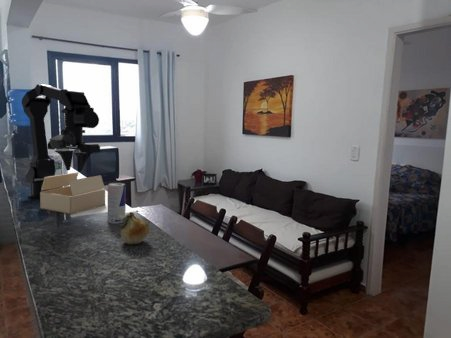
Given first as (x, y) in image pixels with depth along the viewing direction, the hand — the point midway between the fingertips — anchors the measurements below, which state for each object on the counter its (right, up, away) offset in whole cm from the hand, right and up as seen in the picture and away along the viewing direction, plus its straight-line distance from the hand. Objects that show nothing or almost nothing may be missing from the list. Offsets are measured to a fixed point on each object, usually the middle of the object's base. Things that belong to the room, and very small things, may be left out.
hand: (73, 171), depth 118 cm
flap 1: (-6, -4, +3) cm, 7 cm away
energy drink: (+19, -16, -13) cm, 28 cm away
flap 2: (+5, -5, -1) cm, 7 cm away
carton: (-1, -13, +2) cm, 13 cm away
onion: (+30, -19, -30) cm, 47 cm away
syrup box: (-27, -7, +38) cm, 47 cm away
